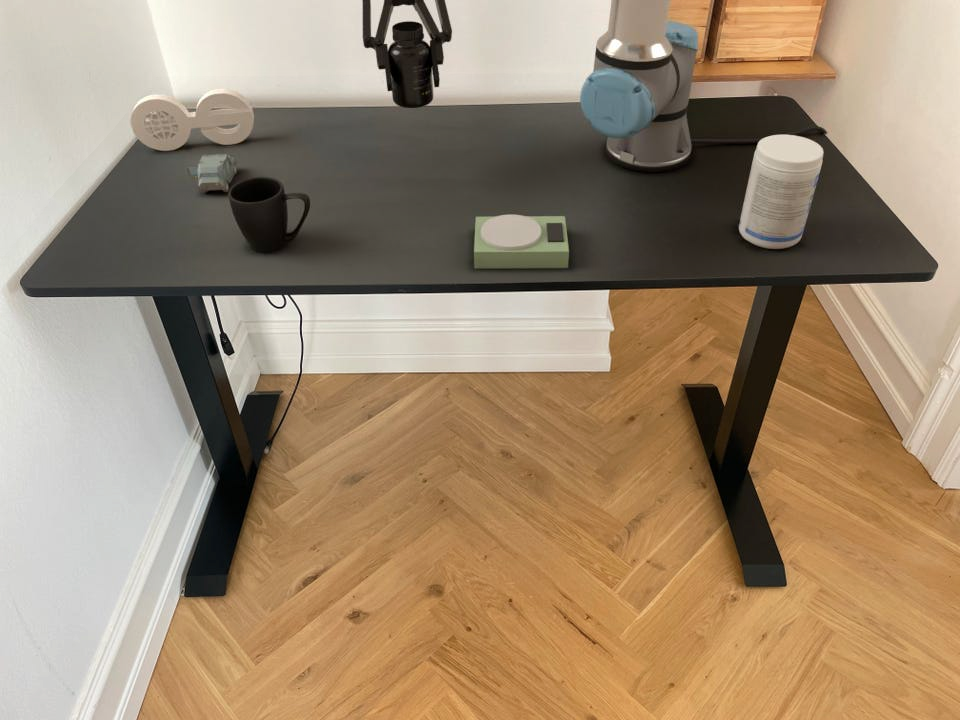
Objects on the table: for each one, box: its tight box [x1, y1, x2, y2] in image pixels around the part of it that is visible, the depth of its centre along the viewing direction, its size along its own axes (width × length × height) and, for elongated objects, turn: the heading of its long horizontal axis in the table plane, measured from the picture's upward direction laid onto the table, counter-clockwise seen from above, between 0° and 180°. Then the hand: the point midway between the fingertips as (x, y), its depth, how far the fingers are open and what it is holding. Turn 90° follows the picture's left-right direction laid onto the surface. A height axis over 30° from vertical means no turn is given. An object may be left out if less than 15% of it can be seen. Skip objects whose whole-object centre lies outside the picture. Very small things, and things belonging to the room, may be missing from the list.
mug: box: [227, 176, 311, 254], centre depth 120 cm, size 8×12×10 cm
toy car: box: [186, 153, 238, 194], centre depth 137 cm, size 6×10×5 cm, turn 1°
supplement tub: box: [738, 134, 824, 250], centre depth 118 cm, size 10×10×15 cm
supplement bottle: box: [388, 20, 434, 109], centre depth 125 cm, size 7×7×12 cm
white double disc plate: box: [130, 88, 255, 152], centre depth 147 cm, size 22×2×10 cm, turn 100°
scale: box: [473, 213, 570, 270], centre depth 120 cm, size 14×10×4 cm
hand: (413, 85), depth 124 cm, fingers closed on supplement bottle, 7 cm apart
